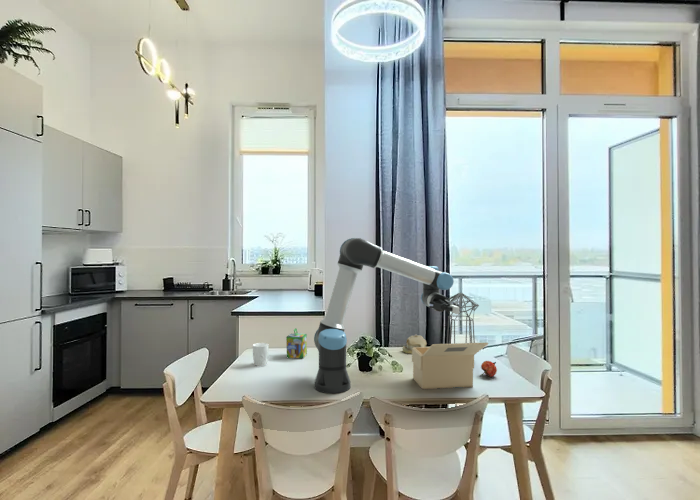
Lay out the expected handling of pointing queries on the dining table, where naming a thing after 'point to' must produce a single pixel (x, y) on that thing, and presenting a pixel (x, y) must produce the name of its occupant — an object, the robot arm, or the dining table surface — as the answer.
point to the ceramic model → (414, 343)
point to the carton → (442, 370)
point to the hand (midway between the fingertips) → (457, 310)
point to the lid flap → (454, 349)
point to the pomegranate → (489, 368)
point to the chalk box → (296, 345)
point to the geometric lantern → (462, 316)
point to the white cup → (260, 353)
